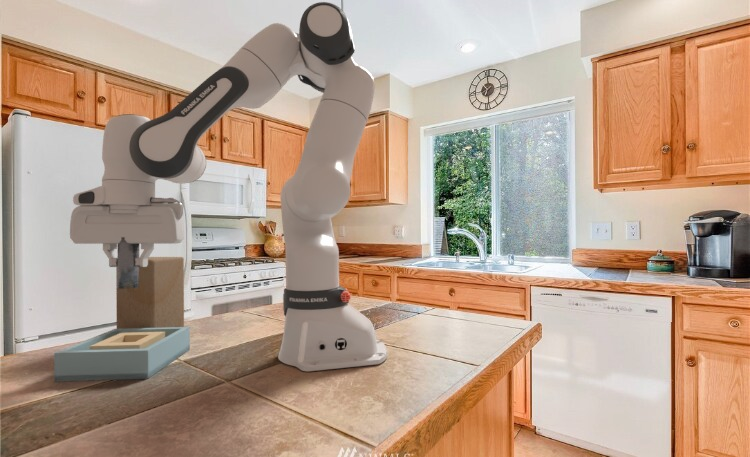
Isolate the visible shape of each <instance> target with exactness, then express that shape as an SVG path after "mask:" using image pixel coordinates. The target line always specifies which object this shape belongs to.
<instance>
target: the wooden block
mask: <svg viewBox="0 0 750 457" xmlns="http://www.w3.org/2000/svg"><path fill="white" fill-rule="evenodd" d="M184 262H185V260H184V257H182V256H149V257H148V265H147V267H139V287H138V288H130V289H117V267H115V269H116V272H115V273H116V276H115V277H116V283H115V285H116V288H115V289H116V291H115V292H116V298H115V299H116V329H125V328H166V327H185V292H184V290H185V281H184V280H185V276H184V275H185V274H184V272H185V271H184V270H185V269H184V268H185V266H184V264H185V263H184Z"/></svg>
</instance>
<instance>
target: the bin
mask: <svg viewBox="0 0 750 457" xmlns="http://www.w3.org/2000/svg"><path fill="white" fill-rule="evenodd" d="M190 329H191V328H190V326H184V327H166V328H125V329H117V328H113V329H111V330H108V331H106V332H103V333H101V334H99V335H96V336H93V337H91V338H88V339H85V340H83V341H81V342H78V343H77V344H73V345H72V346H68V347H66V348H63V349H60V350H57V351H55V352H54V353H53V354H54V355H53V364H54V365H53V368H54V369H53V374H54V375H53V380H54V381H53V382H54V383H55V382H83V381H86V382H88V381H107V380H108V381H114V380H117V381H118V380H119V381H120V380H144V379H145V380H146V379H150V378H151V377H152V376H155V374H157V373H158V372H160V371H162V370H163V369H164V368H165V367H167V366H169V364H171V363H173V362H174V361H175V360H177V359H178V358H180V357H181V356H183V355H184V354H185V353H187V352H188V351H190V350H191V349H190V348H191V347H190V345H191V344H190V343H191V340H190V338H191V336H190V334H191V333H190V331H191V330H190Z"/></svg>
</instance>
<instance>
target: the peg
mask: <svg viewBox="0 0 750 457" xmlns="http://www.w3.org/2000/svg"><path fill="white" fill-rule="evenodd" d="M116 254H117V289H130V288H138V287H139V267H136V266H135V263H136V262H135V258H140V244H130V243H127V242H126V240H125V237H121V241H120V243H118V244H117V252H116Z"/></svg>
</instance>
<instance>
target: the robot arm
mask: <svg viewBox="0 0 750 457" xmlns="http://www.w3.org/2000/svg"><path fill="white" fill-rule="evenodd" d="M298 30H299V31H298V32H299V33H297V32H295V31H294V30H292V29H291V28H290V27H288V26H287V25H285V24H282V23H278V22H277V23H271V24H269V25H268V26H266V27H265V28H263V29H262V30H260V31H259V32H257V33H256V34H254V36H252V37H251V38H250V39H249V40H248V41H247V42H245V44H243V45H242V46H241V47H240V48H239V49H238V51H237V52H236V53H234V54H233V56H232V57H231V58H230V59H229V60H227V62H226V63H225V64H224V65H223V66H222V67H220V68H219V69H217V71H215V72H214V73H212V74H211V75H210V76H209V77H207V78H206V79H205V80H204V81H203V82H202V83H200V84H199V85H198V86H197V87H196V88H195V89H193V91H191V92H190V93H189V94H188V95H187V96H186V97H184V98H183V100H181V101H180V102H179V103H177V105H176V106H175V107H173V108H172V109H171V110H169V111H168V112H167V113H165V114H163V115H161V116H158V117H155V118H153V119H150V118H149V117H147V116H145V115H139V114H134V113H133V114H130V113H128V114H126V113H125V114H124V113H123V114H119V115H116V116H113V117H111V118H109V119H108V120H107V123H106V124H105V128H104V132H103V138H102V151H101V154H102V155H101V160H102V162H103V166H104V170H103V171H104V172H103V175H102V177H101V178H102V179H101V186H97V187H95V188H91V189H88V190H84V191H80V192H78V193H75V194H73V196H72V197H73V198H72V199H73V200H72V201H73V204H74V205H76V206H75V208H74V209H73V210H72V211H71V215H70V224H69V237H70V240H71V241H72V242H73V243H74V244H80V245H83V244H84V245H87V244H89V245H90V244H91V245H92V244H94V245H95V244H97V245H98V244H99V245H100V244H101V245H102V251H103V252H104V254H105V255H106V257H107V258H108V266H109V268H116V267H117V252H116V250H118V243H120V241H121V237H125V240H126V242H127V243H130V244H139V245H140V249H141V250H142V252H141V255H139V258H135V262H136V263H135V266H136V267H147V265H148V257H151V255H152V253H153V252H154V251H155V250H154V249H155V245H157V244H159V245H161V244H162V245H163V244H164V245H165V244H168V245H169V244H175V245H176V244H180V243H181V242H183V240H184V238H185V232H184V231H185V230H184V223H183V216H184V215H183V214H184V206H183V204H182V203H181V201H179V200H178V199H176V198H174V197H165V198H164V197H156V182H157V180H165V181H168V182H172V183H173V184H181V185H182V184H189V183H193V182H196V181H198V179H200V178H202V176H203V175H204V173H205V172H206V171H205V170H206V168H207V159H206V155H205V152H204V151H203V150H202V148H200V147H199V145H198V143H199V141H200V139H201V138H202V137H203V136H204V135H205V134H206V133H207V132H208V131H209V130H210V129H211V128H212V127H213V126H214V125H216V123H217V122H219V120H220V119H221V118H223V117H224V115H226V114H228V112H230V111H231V110H234V109H237V108H245V109H249V110H250V109H252V110H253V109H260V108H262V107H263V106H264V105H266V104H267V103H268V102H269V101H271V100H272V99H273V98H274V97H275V96H277V94H278V93H279V92H280V91H281V90H282V88H283V87H284V86H285V85H286V84H287V83H288V81H290V80H291V79H292V78H293V77H296V76H297V78H298V79H299V81H300V82H301V83H303V84H305V85H307V86H309V87H311V88H313V89H314V90H316V91H318V92H320V93H322V96H321V98H320V100H319V103H318V106H317V108H316V110H315V113H314V116H313V119H312V121H311V124H310V126H309V128H308V131H307V133H306V136H305V143H304V146H303V150H302V153H301V156H300V160H299V162H298V163H299V164H298V166H297V168H296V171H295V172H294V173H293V175H292V176H291V177H290V178H287V180H286V181H285V182H284V184H283V186H282V188H281V190H280V208H281V209H280V210H281V222H282V233H283V240H284V248H285V249H284V250H285V251H284V252H285V288H284V289H283V294H282V304H283V305H282V308H283V310H282V311H283V315H284V326H283V334H282V339H281V346H280V349H279V353H278V356H277V358H278V360H279V361H280V362H281V363H284V364H285V365H288V366H293V367H296V368H297V369H299V370H301V371H302V372H315V371H326V370H334V369H344V368H353V367H354V368H355V367H363V366H374V365H380V364H382V363H384V362H385V360H386V359H387V357H388V351H387V350H388V348H387V346H386V344H385V343H384V342H383V341H382V340H379V339H377V333H376V330H375V328H374V324H373V322H372V321H371V319H369V318H368V317H367V316H365V315H364V314H362V313H361V312H360V311H359V310H358V309H356V308H355V307H353V306H352V305H351V304H350V303H349V302H350V300H351V296H352V295H351V292H349V290H348V288H345V287H343V286H341V285H340V251H339V250H340V248H339V246H338V244H337V241H336V237H335V232H334V227H333V223H332V218H335V217H336V216H337V215H338V214H339V213H340V212H342V210H344V208H345V207H346V205H347V204H348V202H349V200H350V197H351V179H352V174H353V167H354V161H355V157H356V153H357V150H358V148H359V145H360V142H361V139H362V136H363V134H364V131H365V128H366V125H367V124H368V120H369V116H370V113H371V111H372V106H373V102H374V97H375V88H376V84H375V79H374V76H372V74H371V72H370V71H368V69H366V68H365V67H363V66H362V65H358V64H357V63H356V62H355V61H354V58H353V54H354V53H355V44H354V39H353V32H352V28H351V25H350V22H349V19H348V16H347V15H346V13H345V12H344V11H343V10H342V8H340V7H339V6H338V5H336V4H335V3H332V2H327V1H326V2H325V1H320V2H316V3H313V4H311V5H310V6H308V7H307V8H306V9H305V10H304V11H303V13H302V16H301V18H300V23H299V29H298Z"/></svg>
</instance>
